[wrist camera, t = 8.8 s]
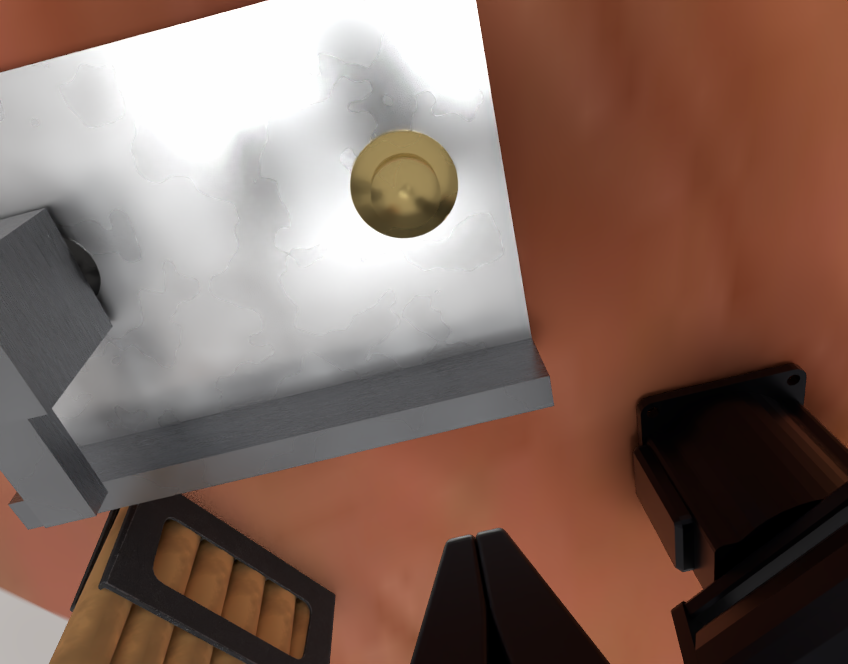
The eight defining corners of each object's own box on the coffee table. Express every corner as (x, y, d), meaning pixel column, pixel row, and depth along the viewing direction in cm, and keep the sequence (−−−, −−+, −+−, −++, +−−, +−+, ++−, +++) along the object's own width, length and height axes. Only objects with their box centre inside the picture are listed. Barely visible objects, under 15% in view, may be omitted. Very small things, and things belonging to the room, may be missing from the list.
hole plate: (461, -51, 16) (482, -59, 13) (529, 351, 23) (554, 405, 20) (-168, 118, 17) (-280, 146, 14) (70, 461, 24) (28, 529, 21)
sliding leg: (46, 207, 17) (-66, 285, 13) (169, 427, 22) (117, 544, 17) (-86, 241, 18) (-242, 330, 13) (62, 452, 22) (-18, 575, 17)
